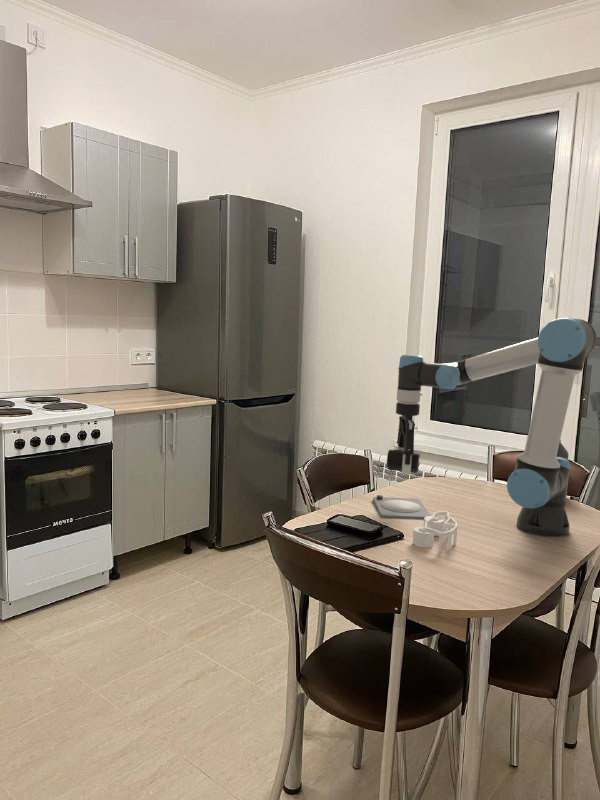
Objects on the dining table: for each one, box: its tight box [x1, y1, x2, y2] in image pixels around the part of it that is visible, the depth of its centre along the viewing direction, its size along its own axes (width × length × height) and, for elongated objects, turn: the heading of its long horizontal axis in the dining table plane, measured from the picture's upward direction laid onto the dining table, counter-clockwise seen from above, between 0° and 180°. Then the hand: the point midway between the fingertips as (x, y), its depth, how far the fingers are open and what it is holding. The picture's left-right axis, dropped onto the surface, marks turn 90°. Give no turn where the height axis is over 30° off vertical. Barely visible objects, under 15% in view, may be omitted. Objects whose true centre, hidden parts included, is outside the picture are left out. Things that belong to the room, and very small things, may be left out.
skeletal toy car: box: [412, 510, 459, 554], centre depth 176 cm, size 20×11×7 cm, turn 153°
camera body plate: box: [372, 494, 432, 520], centre depth 207 cm, size 20×16×2 cm
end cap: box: [386, 448, 421, 474], centre depth 205 cm, size 10×7×7 cm
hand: (403, 470), depth 205 cm, fingers closed on end cap, 9 cm apart
